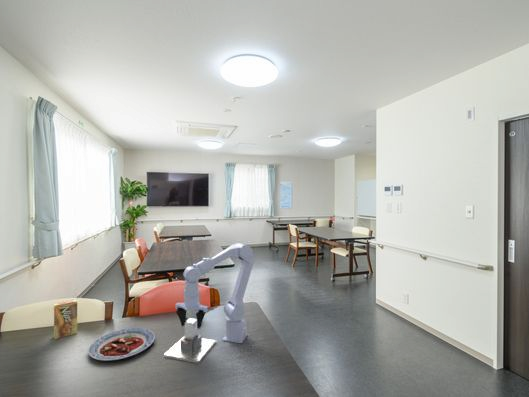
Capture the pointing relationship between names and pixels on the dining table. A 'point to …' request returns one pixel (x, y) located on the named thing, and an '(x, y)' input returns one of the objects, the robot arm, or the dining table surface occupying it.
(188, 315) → the skincare box
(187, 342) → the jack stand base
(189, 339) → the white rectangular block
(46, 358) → the dining table surface
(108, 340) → the ceramic plate
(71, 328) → the candy box
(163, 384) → the dining table surface
